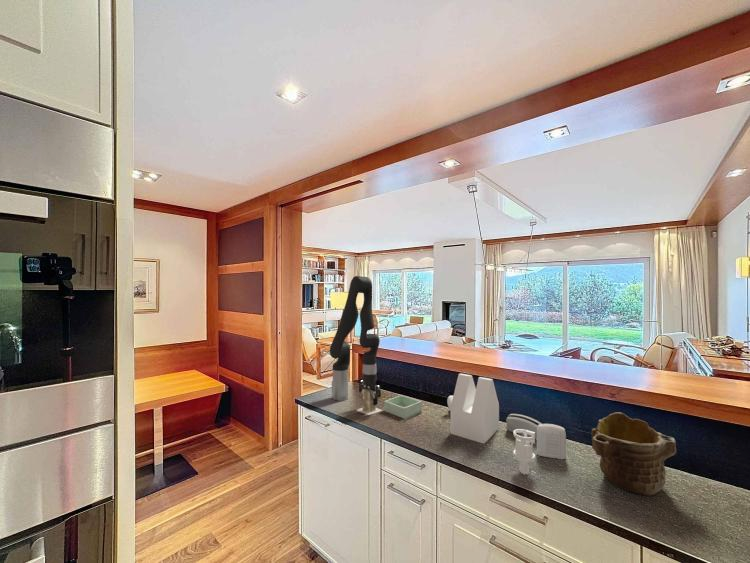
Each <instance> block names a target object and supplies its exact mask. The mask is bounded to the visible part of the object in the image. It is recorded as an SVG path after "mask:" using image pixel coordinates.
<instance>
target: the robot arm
mask: <svg viewBox="0 0 750 563" xmlns="http://www.w3.org/2000/svg"><path fill="white" fill-rule="evenodd" d="M358 294H363V299H364V300H363V304H362V307H361V309H360V312H359V309H358V305H357V298H358V296H359V295H358ZM358 318H359V321H360V335H359V345H360V347H361V348H362V349H369V350H368V351H365V352H363V354H362V368H361V369H362V373H361V374H362V375H361V376H362V378H361V379H362V380H359V381H358V382H359V383H358V392H359V393H361V401H362V402H363V387H365V388H366V387H367V388H368V389H370V393H371V394H372V395H373V405H376V406H377V405H378V403H379V402H378V401H379V400H378V398H381V396H382V395H381V394H382V393H381V385H380V384H379V385H377V384H376V382H377V380H378V379H377V376H378V375H377V371H378V369H377V368H378V367H377V355H378V350H379V346H380V342H381V341H380V336H379V335H378V334H376V333H368V331H371V330H373V329H374V328H375V323H374V317H373V282H372V279H371V278H370V277H367V276H360V275H355V276H353V277H352V279H351V281H350V284H349V288H348V293H347V298H346V301H345V304H344V308H343V311H342V313H341V316H340V320H339V323H338V326H337V329H336V332H335V334H334V338H333V340H332V342H331V343H330V347H329V355H330V356H331V358H332V359H337V360H336V361H335V362H334V363H333V364H332V381H331V398H332V400H334V401H338V402H340V401H342V402H343V401H346V400H348V399H349V365H350V363H351V362H350V361H351V346H350V344H349V343H348V341H345V340H346V339H347V337H348V336H349V334H351V332H352V331H353V330H354V329H355V327H356V325H357V322H358ZM373 391H375V392H373Z"/></svg>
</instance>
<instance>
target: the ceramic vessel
mask: <svg viewBox="0 0 750 563" xmlns="http://www.w3.org/2000/svg"><path fill="white" fill-rule="evenodd" d="M597 422H598V423H597V426H596V428H591V440H592V441H591V449H593V450H594V452H595V454H596V455H597V456H600V459H599V468H600V470H601V473H602V474H604V476H605V477H606V478H607V480H608V481H610V482H611V484H613V485H614V486H616V487H618V488H621V489H622V490H625V491H628V492H630V493H637V494H641V495H643V496H654V495H656V494H657V493H659V492H661V491H662V489H663V488H664V486H665V485H666V467H665V463H664V461H666V460H667V459H668V458H670V457H673V456H675V455H676V453H677V447H676V446H677V445H676V443H677V442H676V439H675V438H674V437H672V436H667V435H665V434H662V433H661V432H658V431H656V430H655V429H654V428H652V427H650V425H649V423H648V422H647V421H644V420H642V419H639V418H634V419H633V418H630V417H629V416H628V415H626V414H625V413H623V412H620V411H619V412H618V411H617V412H613V413H610V414H609V415H607V416H605V417H603V418H602V419H601V418H600V419H599V420H598V421H597Z"/></svg>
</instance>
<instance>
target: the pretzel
mask: <svg viewBox="0 0 750 563" xmlns="http://www.w3.org/2000/svg"><path fill="white" fill-rule="evenodd" d="M453 396H454V394H453V395H449V396H448V397H447V400H446V402H447V407H448V409H449V410H450V412H451V404H452V400H453Z"/></svg>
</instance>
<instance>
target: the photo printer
mask: <svg viewBox="0 0 750 563" xmlns="http://www.w3.org/2000/svg"><path fill="white" fill-rule="evenodd" d="M566 445H567V434H566V429H565V428H564V427H562V426H561V425H557V424H552V423H542V424H539V425H538V427H537V440H536V455H537V454H538V456H540V457H545V458H551V459H556V458H557V459H558V460H563V459H565V458H567V457H566V454H567V452H566V450H567V446H566ZM565 460H566V459H565Z"/></svg>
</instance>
